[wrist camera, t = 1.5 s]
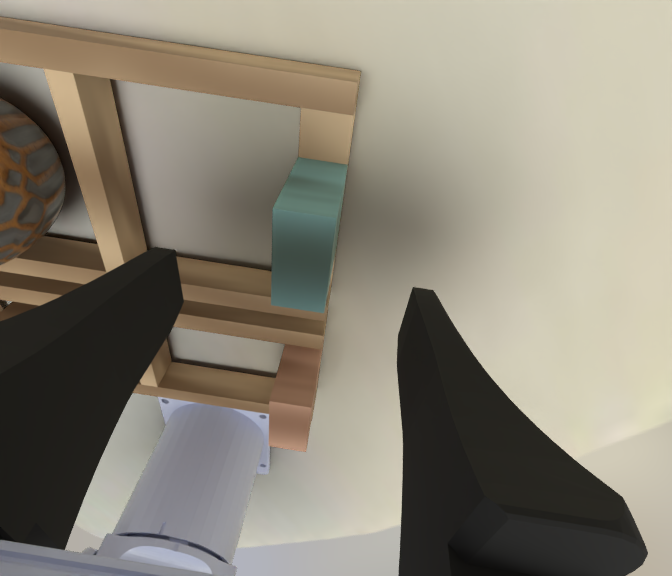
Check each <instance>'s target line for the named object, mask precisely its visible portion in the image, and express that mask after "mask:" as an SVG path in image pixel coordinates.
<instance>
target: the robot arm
mask: <svg viewBox="0 0 672 576" xmlns="http://www.w3.org/2000/svg"><path fill="white" fill-rule="evenodd" d="M183 303H184V299H183V293H182V287H181V281H180V275H179V269H178V263H177V257H176V252H175V250H171V249H165V248H158V247H154V248H152V249H150V250H148V251H146V252H144V253H142V254H140V255H139V256H137V257H135V258H133V259H131V260H129V261H128V262H126V263H124V264H122V265H120V266H119V267H117V268H115V269H113V270H111V271H109V272H107V273H106V274H104V275H102V276H100V277H98V278H96V279H94V280H93V281H91V282H89V283H87V284H85V285H83V286H81V287H78V288H76V289H74V290H72V291H70V292H68V293H66V294H64V295H62V296H60V297H58V298H56V299H54V300H52V301H50V302H47V303H45V304H43V305H40V306H38V307H36V308H33V309H31V310H28V311H26V312H23V313H21V314H18V315H16V316H13V317H11V318H8V319H5V320H2V321H0V576H235V574H236V570H237V567H236V566H233V565H232V561H233V557H234V553H235V550H236V547H237V544H238V541H239V537H240V533H241V529H242V526H243V522H244V518H245V514H246V511H247V507H248V503H249V499H250V495H251V492H252V488H253V484H254V480H255V476H256V473H258V474H268V473H269V470H270V446H269V414H265V413H258V412H252V411H246V410H239V409H233V408H226V407H220V406H214V405H207V404H201V403H195V402H188V401H182V400H176V399H169V398H163V397H158V400H159V403H160V407H161V410H162V414H163V418H164V421H165V425H166V426H165V428H164V430H163V432H162V434H161V436H160V438H159V440H158V442H157V444H156V446H155V448H154V450H153V452H152V454H151V456H150V458H149V460H148V462H147V464H146V466H145V468H144V470H143V472H142V474H141V476H140V478H139V480H138V482H137V484H136V487H135V489H134V491H133V493H132V495H131V497H130V499H129V501H128V503H127V505H126V507H125V509H124V511H123V513H122V515H121V517H120V519H119V521H118V523H117V525H116V527H115V529H114V531H113V533H112V534H109V533H108V534H106V536H105V538H104V540H103V542H102V544H101V546H100V548H99V550H96V549H93V548H86V549H85V550H84V551H83V552H82V553H79V552H72V551H67V550H65V547H66V545H67V542H68V539H69V536H70V534H71V531H72V528H73V526H74V523H75V521H76V518H77V515H78V513H79V510H80V507H81V505H82V502H83V499H84V497H85V495H86V492H87V490H88V487H89V485H90V483H91V480H92V478H93V475H94V473H95V471H96V468H97V466H98V463H99V461H100V459H101V457H102V455H103V452H104V450H105V448H106V446H107V444H108V441H109V439H110V437H111V435H112V433H113V430H114V428H115V426H116V424H117V422H118V420H119V418H120V416H121V414H122V412H123V410H124V408H125V406H126V404H127V402H128V400H129V398H130V396H131V395H132V393H133V391H134V389H135V388H136V386H137V385H138V383H139V381H140V380H141V378H142V377H143V375H144V373H145V372H146V370H147V369H148V367H149V365H150V364H151V362H152V361H153V359H154V358H155V356H156V354H157V353H158V351H159V350H160V348H161V346H162V345H163V343H164V341H165V340H166V338H167V337H168V335H169V333H170V332H171V330H172V328H173V326H174V324H175V321H176V319H177V317H178V315H179V312H180V310H181V308H182V305H183ZM397 372H398V384H399V396H400V407H401V419H402V430H403V484H402V516H401V540H400V559H399V576H626V575H627V574H629V573H631V572H633V571H635V570H636V569H637V568H639V567H640V566H641V565H642V564H643V562H644V561H645V559H646V557H647V554H648V552H647V549H646V546H645V543H644V541H643V539H642V537H641V534H640V532H639V530H638V528H637V525H636V523H635V521H634V519H633V517H632V515H631V512H630V511H629V508H628V507H627V504H626V503H625V501H624V499H623V497H622V496H620V495H619V494H618V493H616V492H615V491H614V490H612V489H611V488H610V487H609V486H607V485H606V484H605V483H603V482H602V481H601V480H600V479H598V478H597V477H596V476H594V475H593V474H592V473H591V472H589V471H588V470H587V469H585V468H584V467H583V466H581V465H580V464H579V463H578V462H577V461H575V460H574V459H573V458H572V457H571V456H569V455H568V454H567V453H566V452H565V451H564V450H563V449H561V448H560V447H559V446H558V445H557V444H556V443H554V442H553V441H552V440H551V439H550V438H549V437H548V436H547V435H546V434H544V433H543V432H542V431H541V430H540V429H539V428H538V427H537V426H536V425H535V424H534V423H533V422H532V421H531V420H530V419H529V418H528V417H527V416H526V415H525V414H524V413H523V412H522V411H521V410H520V409H519V408H518V407H517V406H516V405H515V404H514V403H513V402H512V401H511V400H510V399H509V398H508V397H507V395H506V394H505V393H504V392H503V391H502V390H501V389H500V387H499V386H498V385H497V384H496V383H495V382H494V381H493V379H492V378H491V377H490V376H489V375H488V373H487V372H486V371H485V370H484V368H483V367H482V366H481V364H480V363H479V362H478V360H477V359H476V357H475V356H474V355H473V353H472V352H471V350H470V349H469V348H468V346H467V345H466V343H465V342H464V340H463V338H462V337H461V335H460V334H459V332H458V331H457V329H456V328H455V326H454V324H453V323H452V321H451V319H450V318H449V316H448V314H447V313H446V311H445V309H444V308H443V306H442V304H441V302H440V301H439V299H438V297H437V295H436V294H435V292H434V291H433V290H428V289H422V288H415V287H413V289H412V292H411V295H410V298H409V302H408V305H407V308H406V311H405V315H404V318H403V321H402V324H401V328H400V331H399V334H398V349H397Z"/></svg>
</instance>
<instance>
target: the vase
mask: <svg viewBox="0 0 672 576" xmlns="http://www.w3.org/2000/svg"><path fill="white" fill-rule="evenodd" d="M64 197H65V175H64V170H63V166H62V163H61V160H60V158H59V156H58V154H57V152H56V150H55V148H54V146H53V144H52V143H51V141H50V140H49V138H48V137H47V136H46V134H45V133H44V132H43V131H42V130H41V129H40V127H39V126H38V125H37V124H36V123H35V122H33V121H32V120H31V119H30V118H29V117H28V116H27V115H25V114H24V113H23V112H22V111H20V110H19V109H18V108H16V107H15V106H13V105H12V104H10V103H8V102H7V101H5V100H3V99H1V98H0V265H2V264H5V263H6V262H8V261H10V260H12V259H14V258H16V257H18V256H19V255H20V254H22V253H23V252H25V251H26V250H28V249H29V248H30V247H31V246H33V245H34V244H35V243H36V242H37V241H38V240H39V239H40V238H41V237H43V236H44V235H45V234H46V233H47V231H48V230H49V229H50V227H51V226H52V224H53V223H54V222H55V220H56V218H57V216H58V214H59V212H60V210H61V208H62V204H63V201H64Z"/></svg>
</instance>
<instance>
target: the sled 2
mask: <svg viewBox="0 0 672 576" xmlns="http://www.w3.org/2000/svg"><path fill="white" fill-rule="evenodd" d="M83 285H85V284H80V283H74V282H68V281H61V280H55V279H48V278H42V277H35V276H29V275H23V274H16V273H10V272H3V271H0V300H7V301H13V302H20V303H26V304H32V305H39V306H40V305H43V304H45V303H47V302H50V301H52V300H54V299H56V298H58V297H60V296H62V295H64V294H66V293H68V292H70V291H72V290H74V289H76V288H78V287H81V286H83ZM2 310H3V308H2V306H1V305H0V312H1V311H2ZM327 313H328V310H327ZM326 320H327V315H326ZM326 320H325V321H318V320H312V319H305V318H299V317H293V316H286V315H280V314H273V313H267V312H260V311H254V310H248V309H241V308H235V307H228V306H222V305H215V304H209V303H203V302H196V301H190V300H184V303H183V305H182V308H181V310H180V312H179V315H178V317H177V319H176V321H175V324H174V326H173V327H180V328H186V329H192V330H199V331H205V332H212V333H218V334H225V335H231V336H237V337H244V338H250V339H257V340H263V341H269V342H276V343H282V344H285V347H284V350H283V354H282V357H281V361H280V365H279V368H278V372H277V375H276V378H271V377H265V376H259V375H252V374H246V373H239V372H233V371H227V370H220V369H214V368H208V367H201V366H195V365H188V364H182V363H176V362H172V361H171V356H170V352H169V347H168V343H167V338H166V340H165V341H164V343H163V345H162V346H161V348H160V350H159V351H158V353H157V354H156V356H155V358H154V359H153V361H152V362H151V364H150V365H149V367H148V369H147V370H146V372H145V373H144V375H143V377H142V378H141V380H140V381H139V383H138V385H137V386H136V388H135V389H134V391H133V393H138V394H144V395H150V396H157V397H163V398H169V399H176V400H182V401H188V402H195V403H201V404H207V405H214V406H220V407H226V408H233V409H239V410H246V411H252V412H258V413H265V414H269V446H271V447H278V448H284V449H290V450H297V451H303V452H306V448H307V442H308V436H309V430H310V424H311V421H312V416H313V410H314V404H315V398H316V392H317V385H318V378H319V370H320V363H321V356H322V349H323V342H324V335H325V327H326Z"/></svg>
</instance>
